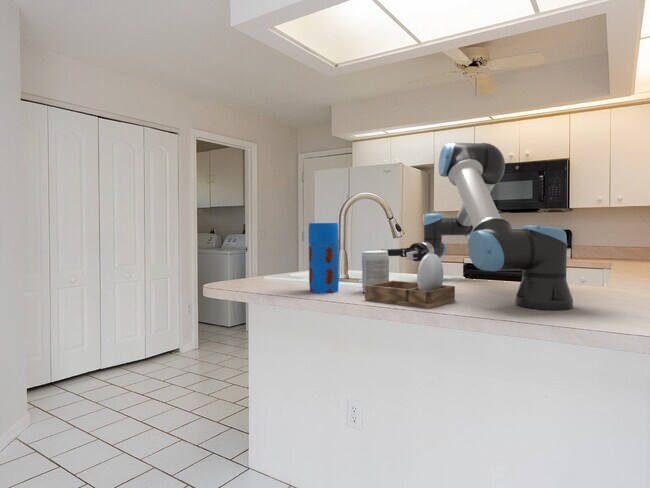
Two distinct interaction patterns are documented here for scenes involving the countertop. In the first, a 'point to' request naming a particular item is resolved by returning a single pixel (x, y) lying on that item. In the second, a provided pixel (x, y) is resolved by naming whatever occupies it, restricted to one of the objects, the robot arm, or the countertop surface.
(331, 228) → the thermos
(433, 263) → the plate
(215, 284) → the countertop surface
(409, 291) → the rack
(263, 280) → the countertop surface
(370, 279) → the supplement tub
